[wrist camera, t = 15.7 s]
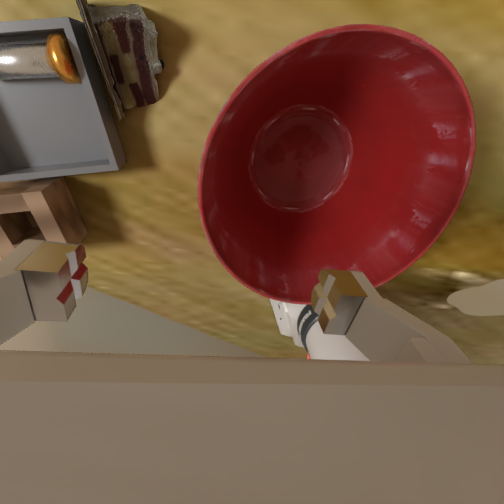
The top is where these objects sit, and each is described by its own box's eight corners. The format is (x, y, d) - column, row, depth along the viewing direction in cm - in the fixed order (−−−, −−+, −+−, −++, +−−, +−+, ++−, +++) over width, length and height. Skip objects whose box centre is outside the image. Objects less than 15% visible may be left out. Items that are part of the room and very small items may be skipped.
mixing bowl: (391, 4, 33) (505, -41, 20) (397, 213, 48) (464, 265, 35) (167, 90, 35) (140, 99, 22) (241, 265, 50) (250, 331, 37)
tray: (126, 161, 39) (118, 170, 36) (14, 173, 38) (-6, 182, 35) (84, 23, 31) (68, 16, 28) (-61, 33, 30) (-95, 28, 27)
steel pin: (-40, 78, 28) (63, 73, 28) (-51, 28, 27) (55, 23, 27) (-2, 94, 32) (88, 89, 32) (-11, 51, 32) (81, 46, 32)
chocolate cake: (176, 118, 37) (168, 28, 26) (120, 128, 36) (86, 36, 24) (154, 60, 39) (138, -50, 28) (100, 66, 37) (58, -48, 26)
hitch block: (88, 232, 44) (71, 253, 39) (28, 239, 43) (3, 261, 38) (63, 175, 39) (40, 191, 34) (-5, 182, 39) (-38, 199, 34)
